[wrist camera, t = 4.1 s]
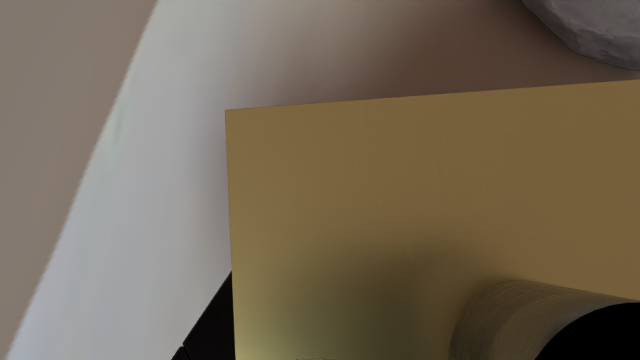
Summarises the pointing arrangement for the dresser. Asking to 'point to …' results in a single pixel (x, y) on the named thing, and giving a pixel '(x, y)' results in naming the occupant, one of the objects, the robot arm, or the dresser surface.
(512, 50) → the dresser surface
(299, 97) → the dresser surface
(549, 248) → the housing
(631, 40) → the stone block
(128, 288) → the dresser surface
